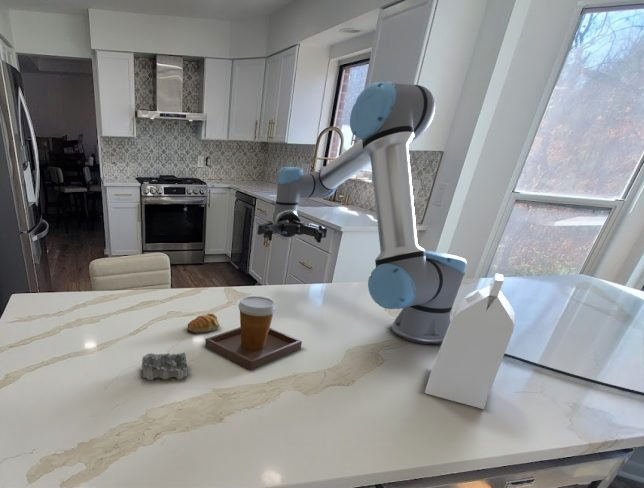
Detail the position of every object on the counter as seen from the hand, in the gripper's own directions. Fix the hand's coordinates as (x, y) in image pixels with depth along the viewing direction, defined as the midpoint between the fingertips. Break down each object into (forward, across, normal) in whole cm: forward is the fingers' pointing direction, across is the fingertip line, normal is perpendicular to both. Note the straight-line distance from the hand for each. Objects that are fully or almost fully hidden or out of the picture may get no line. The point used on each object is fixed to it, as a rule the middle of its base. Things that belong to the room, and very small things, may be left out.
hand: (295, 236), depth 120 cm
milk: (+37, -36, -25) cm, 57 cm away
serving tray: (+21, +10, -25) cm, 34 cm away
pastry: (+11, +24, -25) cm, 36 cm away
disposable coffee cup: (+21, +10, -24) cm, 34 cm away
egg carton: (+38, +32, -25) cm, 56 cm away
